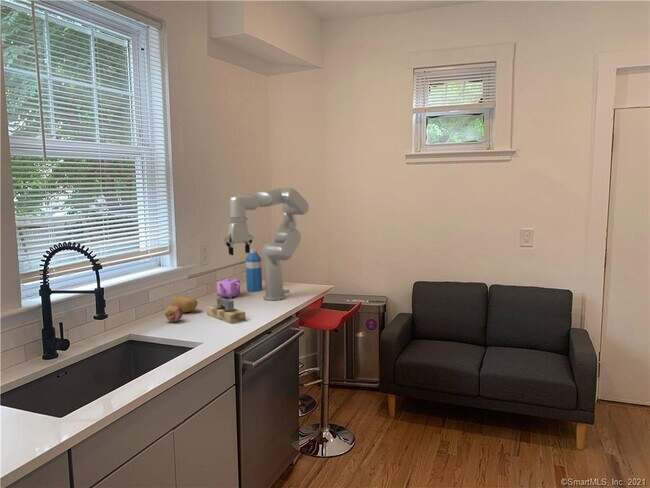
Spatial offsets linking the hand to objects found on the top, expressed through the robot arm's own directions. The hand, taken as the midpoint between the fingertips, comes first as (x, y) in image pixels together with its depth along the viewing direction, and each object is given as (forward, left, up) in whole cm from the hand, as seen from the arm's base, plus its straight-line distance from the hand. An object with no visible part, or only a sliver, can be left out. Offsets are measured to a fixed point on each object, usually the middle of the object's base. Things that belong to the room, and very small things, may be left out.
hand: (239, 253), depth 254 cm
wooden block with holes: (+16, +11, -28) cm, 34 cm away
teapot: (-9, -27, -29) cm, 40 cm away
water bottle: (-30, -32, -28) cm, 52 cm away
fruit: (+37, 0, -28) cm, 47 cm away
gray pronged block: (+16, +11, -28) cm, 34 cm away
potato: (+25, -13, -29) cm, 40 cm away
